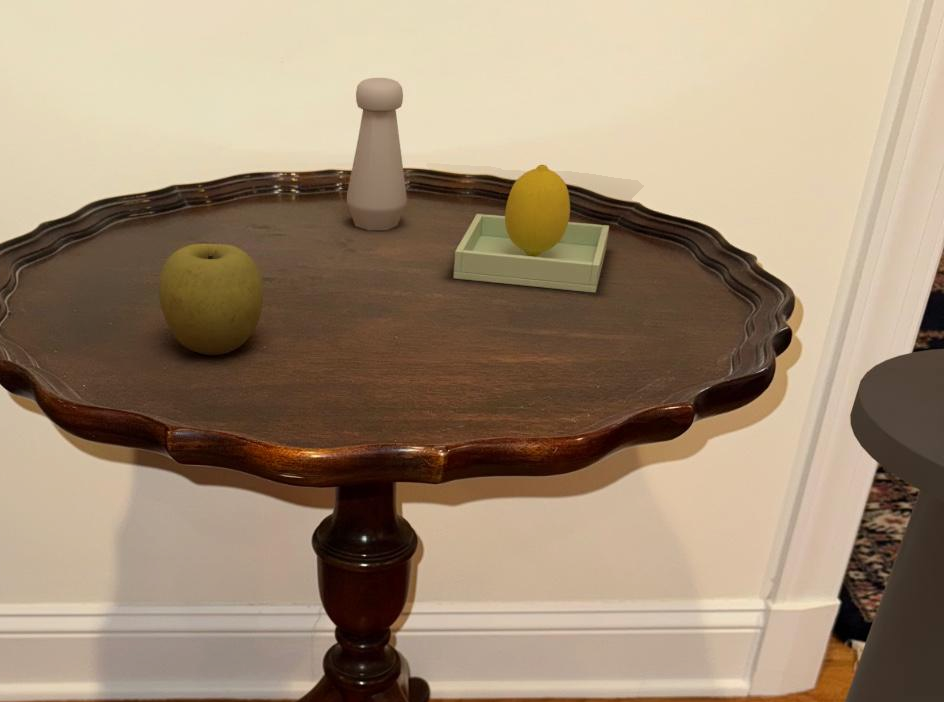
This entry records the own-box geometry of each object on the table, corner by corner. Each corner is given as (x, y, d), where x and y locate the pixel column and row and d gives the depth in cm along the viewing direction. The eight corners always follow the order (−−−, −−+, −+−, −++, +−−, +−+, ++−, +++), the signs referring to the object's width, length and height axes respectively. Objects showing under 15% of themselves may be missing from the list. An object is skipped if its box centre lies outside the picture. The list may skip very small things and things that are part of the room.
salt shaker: (408, 233, 107) (415, 86, 100) (348, 234, 107) (350, 86, 99) (401, 215, 112) (407, 73, 105) (344, 215, 112) (346, 73, 104)
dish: (605, 251, 104) (609, 225, 102) (595, 293, 95) (599, 265, 93) (474, 239, 106) (476, 213, 105) (453, 278, 97) (454, 251, 96)
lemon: (495, 248, 102) (503, 157, 97) (554, 247, 103) (565, 156, 98) (509, 269, 98) (518, 174, 93) (571, 267, 98) (583, 173, 94)
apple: (274, 329, 87) (272, 238, 83) (250, 371, 81) (246, 274, 77) (180, 322, 88) (173, 231, 84) (149, 363, 82) (140, 266, 78)
